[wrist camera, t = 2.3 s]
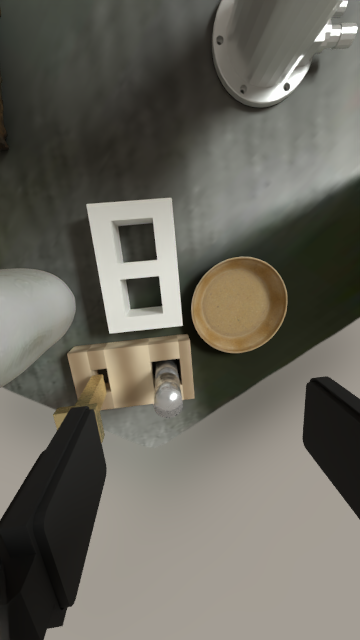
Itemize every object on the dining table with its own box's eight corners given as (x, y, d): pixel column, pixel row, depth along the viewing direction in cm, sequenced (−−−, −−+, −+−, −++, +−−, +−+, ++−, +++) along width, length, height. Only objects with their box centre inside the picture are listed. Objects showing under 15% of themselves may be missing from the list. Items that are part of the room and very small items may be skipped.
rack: (169, 206, 32) (171, 197, 28) (179, 316, 37) (182, 325, 32) (97, 211, 32) (86, 204, 27) (116, 323, 36) (109, 333, 31)
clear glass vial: (175, 353, 38) (181, 390, 28) (177, 372, 39) (183, 415, 29) (154, 356, 38) (152, 394, 28) (156, 375, 39) (155, 419, 29)
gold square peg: (112, 369, 34) (95, 409, 25) (116, 395, 35) (102, 442, 26) (81, 373, 34) (53, 414, 25) (87, 399, 35) (62, 448, 26)
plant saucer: (293, 317, 39) (302, 321, 36) (217, 362, 40) (221, 370, 37) (254, 237, 35) (262, 236, 32) (171, 290, 36) (172, 292, 33)
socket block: (187, 333, 38) (189, 340, 35) (192, 388, 40) (194, 398, 37) (74, 346, 37) (67, 353, 34) (86, 401, 39) (81, 412, 36)
